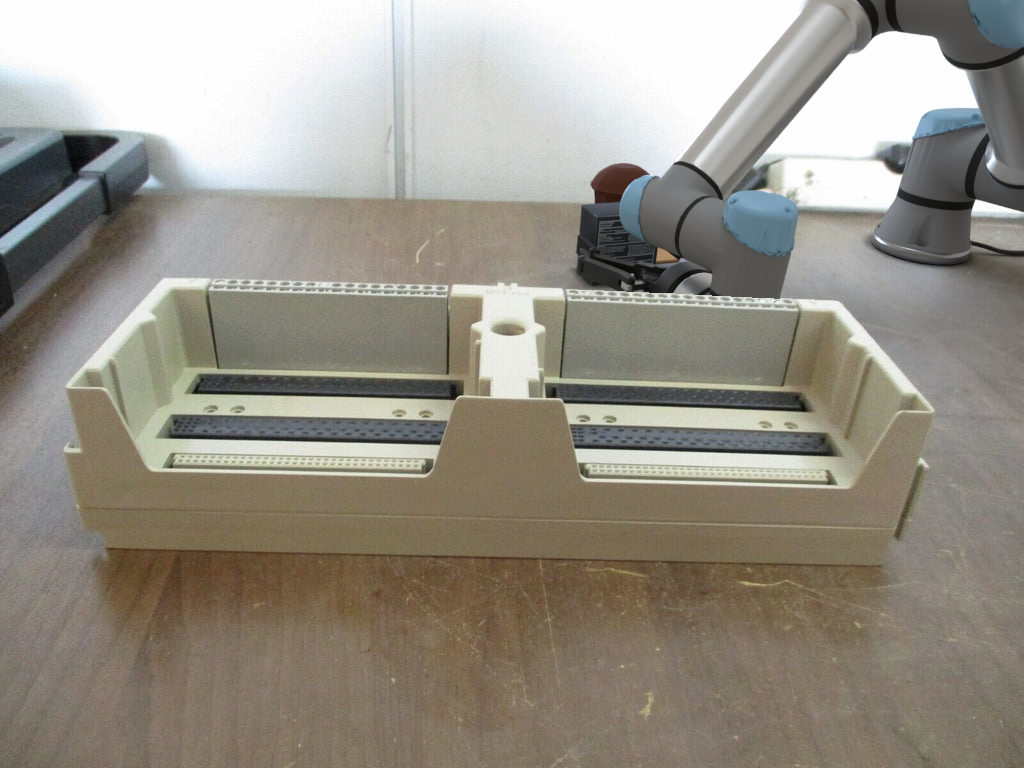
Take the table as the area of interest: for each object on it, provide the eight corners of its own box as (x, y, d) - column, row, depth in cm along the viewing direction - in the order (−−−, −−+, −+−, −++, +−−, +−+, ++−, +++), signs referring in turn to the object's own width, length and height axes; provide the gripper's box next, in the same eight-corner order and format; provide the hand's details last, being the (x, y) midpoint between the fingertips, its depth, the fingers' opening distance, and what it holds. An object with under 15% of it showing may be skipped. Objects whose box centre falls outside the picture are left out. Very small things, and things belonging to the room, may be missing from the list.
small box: (636, 264, 120) (645, 198, 115) (655, 279, 115) (665, 211, 109) (574, 269, 117) (580, 202, 112) (590, 285, 112) (597, 216, 106)
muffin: (625, 208, 145) (631, 154, 139) (664, 226, 137) (672, 170, 131) (574, 216, 139) (578, 161, 134) (611, 235, 131) (618, 177, 126)
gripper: (598, 337, 93) (540, 271, 110) (774, 317, 100) (693, 258, 117) (604, 279, 89) (543, 221, 106) (786, 263, 96) (702, 210, 113)
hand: (622, 240), depth 112 cm, fingers open, 13 cm apart
